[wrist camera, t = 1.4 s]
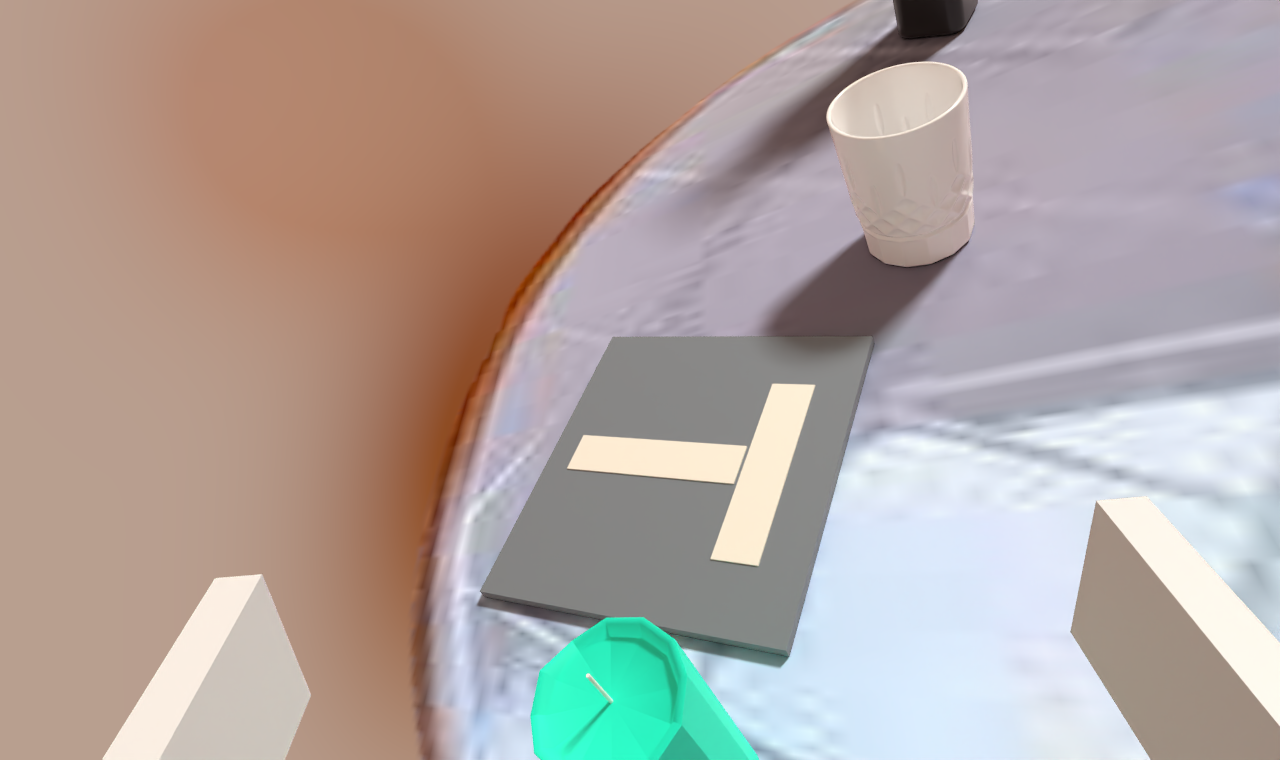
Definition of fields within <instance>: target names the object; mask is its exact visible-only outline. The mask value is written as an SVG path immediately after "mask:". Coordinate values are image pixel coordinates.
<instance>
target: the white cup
mask: <svg viewBox="0 0 1280 760" xmlns="http://www.w3.org/2000/svg"><path fill="white" fill-rule="evenodd" d="M826 119H827V123H828V127H829V130H830V133H831V136H832V140H833V143H834V146H835V149H836V153H837V156H838V159H839V163H840V166H841V169H842V172H843V175H844V179H845V182H846V185H847V188H848V192H849V195H850V199H851V201H852V204H853V206H854V209H855V213H856V216H857V217H858V219H859V220H860V223H861V226H862V228H863V231H864V234H865V238H866V241H867V244H868V248H869V251H870V253H871V254H872V255H873V256H875V257H876V258H878V259H879V260H881V261H882V262H883V263H885V264H890V265H896V266H902V267H912V266H919V265H926V264H932V263H934V262H937V261H939V260H941V259H944V258H946V257H948V256H950V255H953V254H954V253H955V252H957V251H958V250H959V249H960V248H961V247H962V246H963V245H964V244H965V243H966V242H967V241H969V239H970V236H971V233H972V230H973V227H974V224H975V219H974V207H973V171H972V144H971V130H970V117H969V102H968V86H967V79H966V77H965V75H964V74H963V73H962V72H961V71H960V70H959V69H957V68H955V67H953V66H951V65H948V64H944V63H938V62H912V63H905V64H900V65H895V66H892V67H888V68H885V69H882V70H879V71H876V72H874V73H871V74H869V75H867V76H865V77H863V78H861V79H859V80H857V81H855V82H854V83H852V84H851V85H849V86H848V87H846V88H845V89H844V90H843V91H841V92H840V93H839V94H838V95H837V96H836V97H835V99H834V100H833V101H832V103H831V104H830V106H829V108H828V110H827V115H826Z"/></svg>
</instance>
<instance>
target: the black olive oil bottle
mask: <svg viewBox="0 0 1280 760" xmlns="http://www.w3.org/2000/svg"><path fill="white" fill-rule="evenodd" d="M893 3H894V9H895V14H896V20H897V26H898V32H899V35H900V36H902V37H903V38H917V37H927V36H936V35H946V34H953V33H956V32H958V31H960V30H962V29H963V28H964V27H965V25H966V24H967V22H968V20H969V18H970V16H971V15H972V13H973V11H974V9H975V7H976V6H977V3H978V0H893Z"/></svg>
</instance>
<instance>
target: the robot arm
mask: <svg viewBox="0 0 1280 760" xmlns="http://www.w3.org/2000/svg"><path fill="white" fill-rule="evenodd" d="M1071 633H1072V635H1073V636H1074V638H1075V640H1076V641H1077V643H1078V644H1079V646H1080V648H1081V649H1082V651H1083V652H1084V654H1085V656H1086V657H1087V659H1088V660H1089V662H1090V664H1091V665H1092V667H1093V668H1094V670H1095V671H1096V673H1097V675H1098V676H1099V678H1100V679H1101V681H1102V683H1103V684H1104V686H1105V687H1106V689H1107V691H1108V692H1109V694H1110V695H1111V697H1112V699H1113V700H1114V702H1115V703H1116V705H1117V707H1118V708H1119V710H1120V711H1121V713H1122V714H1123V716H1124V718H1125V719H1126V721H1127V722H1128V724H1129V726H1130V727H1131V729H1132V730H1133V732H1134V734H1135V735H1136V737H1137V738H1138V740H1139V742H1140V743H1141V745H1142V746H1143V748H1144V750H1145V751H1146V753H1147V754H1148V756H1149V758H1150V759H1151V760H1280V643H1279V642H1278V640H1277V639H1276V638H1275V637H1274V636H1273V635H1272V634H1271V633H1270V632H1269V631H1268V629H1267V628H1266V627H1265V626H1264V625H1263V624H1262V623H1261V622H1260V621H1259V620H1258V618H1257V617H1256V616H1255V615H1254V614H1253V613H1252V612H1251V611H1250V610H1249V609H1248V607H1247V606H1246V605H1245V604H1244V603H1243V602H1242V601H1241V600H1240V599H1239V598H1238V596H1237V595H1236V594H1235V593H1234V592H1233V591H1232V590H1231V589H1230V588H1229V587H1228V585H1227V584H1226V583H1225V582H1224V581H1223V580H1222V579H1221V578H1220V577H1219V576H1218V574H1217V573H1216V572H1215V571H1214V570H1213V569H1212V568H1211V567H1210V566H1209V564H1208V563H1207V562H1206V561H1205V560H1204V559H1203V558H1202V557H1201V556H1200V555H1199V553H1198V552H1197V551H1196V550H1195V549H1194V548H1193V547H1192V546H1191V545H1190V544H1189V542H1188V541H1187V540H1186V539H1185V538H1184V537H1183V536H1182V535H1181V534H1180V533H1179V531H1178V530H1177V529H1176V528H1175V527H1174V526H1173V525H1172V524H1171V523H1170V522H1169V520H1168V519H1167V518H1166V517H1165V516H1164V515H1163V514H1162V513H1161V512H1160V511H1159V509H1158V508H1157V507H1156V506H1155V505H1154V504H1153V503H1152V502H1151V501H1150V500H1149V498H1148V497H1147V496H1145V497H1133V498H1122V499H1111V500H1099V501H1096V505H1095V510H1094V515H1093V520H1092V525H1091V530H1090V535H1089V540H1088V545H1087V550H1086V555H1085V561H1084V566H1083V571H1082V576H1081V581H1080V586H1079V591H1078V596H1077V601H1076V606H1075V612H1074V617H1073V622H1072V627H1071ZM310 696H311V694H310V691H309V689H308V686H307V684H306V681H305V679H304V676H303V674H302V671H301V669H300V666H299V664H298V661H297V659H296V657H295V654H294V652H293V649H292V647H291V644H290V642H289V640H288V637H287V634H286V632H285V629H284V627H283V625H282V622H281V620H280V617H279V615H278V613H277V610H276V607H275V605H274V603H273V600H272V597H271V595H270V593H269V590H268V588H267V585H266V583H265V580H264V578H263V576H262V574H259V575H248V576H237V577H226V578H215V579H214V581H213V583H212V584H211V586H210V587H209V589H208V591H207V592H206V594H205V596H204V597H203V599H202V600H201V602H200V603H199V605H198V607H197V608H196V610H195V611H194V613H193V615H192V616H191V618H190V619H189V621H188V623H187V624H186V626H185V628H184V629H183V631H182V632H181V634H180V635H179V637H178V639H177V640H176V642H175V644H174V645H173V647H172V648H171V650H170V652H169V653H168V655H167V656H166V658H165V659H164V661H163V663H162V664H161V666H160V668H159V669H158V671H157V672H156V674H155V676H154V677H153V679H152V680H151V682H150V684H149V685H148V687H147V688H146V690H145V692H144V693H143V695H142V696H141V698H140V700H139V701H138V703H137V704H136V706H135V708H134V709H133V711H132V713H131V714H130V716H129V717H128V719H127V721H126V722H125V724H124V725H123V727H122V728H121V730H120V732H119V733H118V735H117V736H116V738H115V740H114V741H113V743H112V744H111V746H110V748H109V749H108V751H107V753H106V754H105V756H104V758H103V759H102V760H285V758H286V755H287V753H288V751H289V748H290V746H291V743H292V740H293V738H294V736H295V733H296V731H297V728H298V726H299V723H300V721H301V718H302V716H303V713H304V711H305V708H306V706H307V704H308V701H309V699H310Z"/></svg>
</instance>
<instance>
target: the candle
mask: <svg viewBox="0 0 1280 760" xmlns="http://www.w3.org/2000/svg"><path fill="white" fill-rule="evenodd" d="M531 726H532V735H533V745H534V754H535V755H536V756H537V757H538V758H540V759H541V760H759V759H758V756H757V754H756V753H755V751H754V750H753V749H752V747H751V746H750V744H749V743H748V742H747V740H746V739H745V737H744V736H743V734H742V733H741V732H740V730H739V729H738V727H737V726H736V725H735V723H734V722H733V720H732V719H731V718H730V716H729V715H728V713H727V712H726V711H725V709H724V708H723V706H722V705H721V703H720V702H719V701H718V699H717V698H716V696H715V695H714V694H713V692H712V691H711V689H710V688H709V687H708V685H707V684H706V682H705V681H704V680H703V678H702V677H701V675H700V674H699V672H698V671H697V670H696V668H695V667H694V665H693V664H692V663H691V661H690V660H689V658H688V657H687V656H686V654H685V653H684V651H683V650H682V649H681V647H680V646H679V644H678V643H677V641H676V640H675V639H674V638H673V637H671V636H670V635H668V634H667V633H665V632H664V631H663V630H661V629H660V628H658V627H657V626H655V625H654V624H653V623H651V622H650V621H648V620H647V619H645V618H644V617H617V618H605V619H603V620H602V621H600V622H599V623H597V624H596V625H594V626H593V627H591V628H590V629H589V630H587V631H586V632H584V633H583V634H581V635H580V636H578V637H577V638H575V639H574V640H573V641H571V642H570V643H569V644H568V645H567V646H566V647H565V648H564V649H563V650H562V651H561V652H559V653H558V654H557V655H556V656H555V657H554V658H553V659H552V660H551V661H550V662H549V663H548V664H547V665H545V666H544V667H543V668H542V669H541V670H540V672H539V677H538V682H537V687H536V692H535V697H534V702H533V707H532V711H531Z"/></svg>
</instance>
